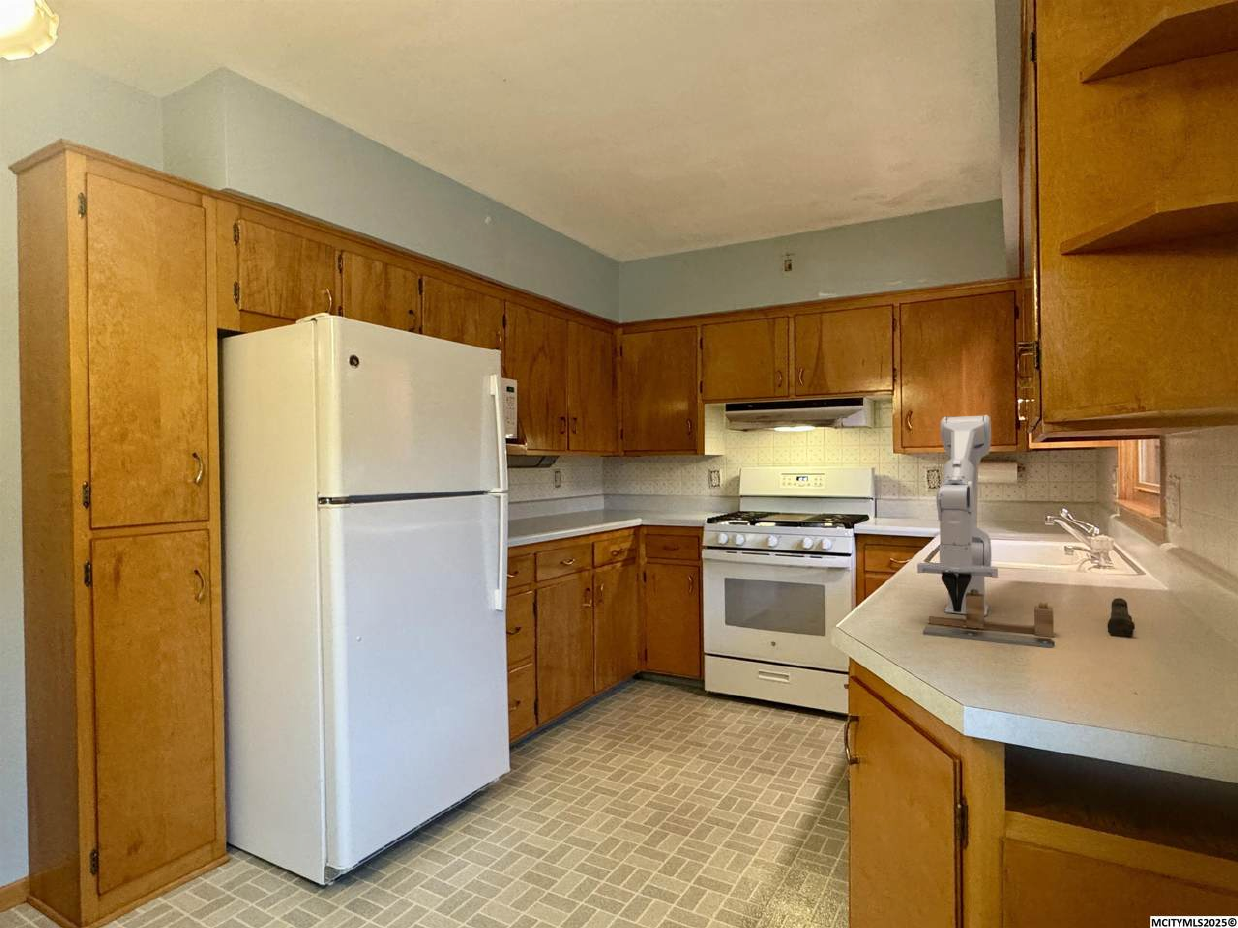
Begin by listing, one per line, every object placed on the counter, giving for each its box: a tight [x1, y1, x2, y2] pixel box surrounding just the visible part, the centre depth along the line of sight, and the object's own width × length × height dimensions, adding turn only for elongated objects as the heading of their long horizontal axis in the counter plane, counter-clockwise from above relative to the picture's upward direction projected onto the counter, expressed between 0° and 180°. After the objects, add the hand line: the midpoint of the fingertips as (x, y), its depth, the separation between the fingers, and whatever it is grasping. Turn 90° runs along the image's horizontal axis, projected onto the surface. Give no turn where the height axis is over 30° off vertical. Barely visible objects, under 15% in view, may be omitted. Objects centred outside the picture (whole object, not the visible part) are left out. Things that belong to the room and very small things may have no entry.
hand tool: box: [1107, 597, 1136, 639], centre depth 131 cm, size 19×4×5 cm, turn 141°
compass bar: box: [927, 601, 1055, 638], centre depth 131 cm, size 4×22×6 cm, turn 59°
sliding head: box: [965, 589, 985, 630], centre depth 132 cm, size 4×3×7 cm
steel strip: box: [922, 625, 1056, 649], centre depth 124 cm, size 4×21×1 cm, turn 59°
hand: (957, 610), depth 134 cm, fingers closed
